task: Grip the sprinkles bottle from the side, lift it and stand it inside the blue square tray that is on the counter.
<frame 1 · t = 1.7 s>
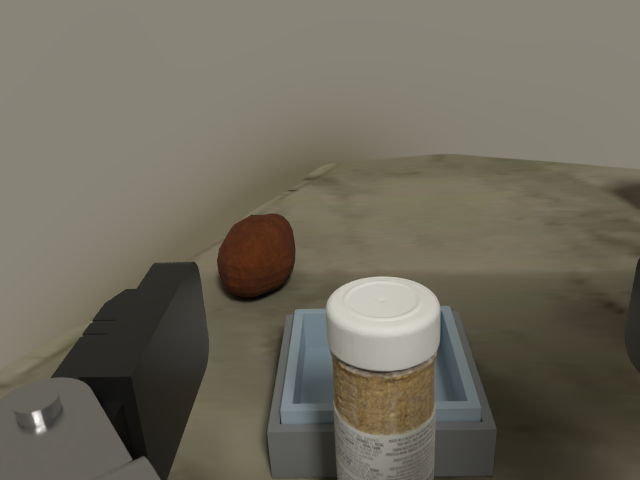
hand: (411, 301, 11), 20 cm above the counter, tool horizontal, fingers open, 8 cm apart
potato: (261, 289, 54), on the counter
blue square tray: (376, 404, 39), on the counter
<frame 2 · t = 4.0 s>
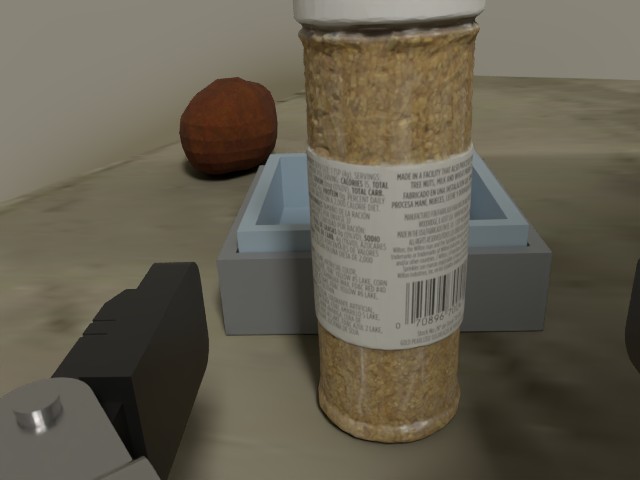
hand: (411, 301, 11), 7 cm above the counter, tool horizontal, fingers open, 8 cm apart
potato: (235, 172, 44), on the counter
sprinkles bottle: (387, 406, 20), on the counter
blue square tray: (375, 263, 29), on the counter
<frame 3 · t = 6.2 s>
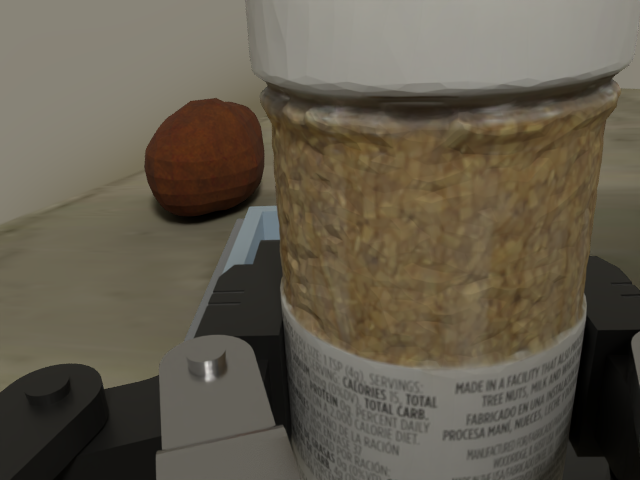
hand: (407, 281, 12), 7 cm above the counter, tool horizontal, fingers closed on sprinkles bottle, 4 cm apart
potato: (214, 211, 37), on the counter
blue square tray: (387, 361, 21), on the counter
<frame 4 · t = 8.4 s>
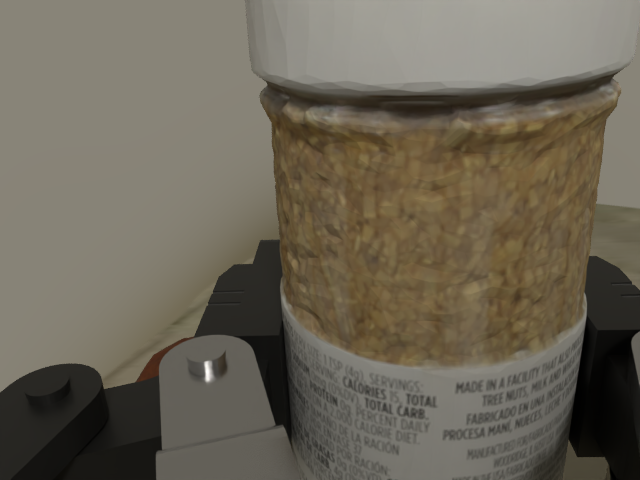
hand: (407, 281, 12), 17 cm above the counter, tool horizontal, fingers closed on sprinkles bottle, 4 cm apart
potato: (200, 460, 32), on the counter
when the fingers open (10 cm above the counter, at t = 10.5 s): sprinkles bottle drops 1 cm, resting on blue square tray.
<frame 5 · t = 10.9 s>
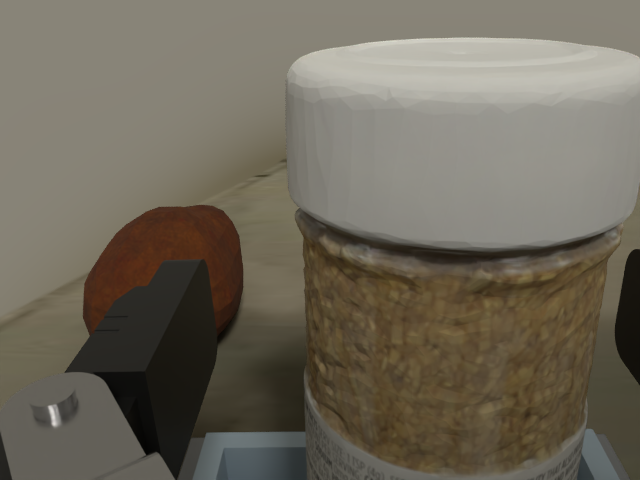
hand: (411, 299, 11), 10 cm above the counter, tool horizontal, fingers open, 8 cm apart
potato: (179, 346, 29), on the counter
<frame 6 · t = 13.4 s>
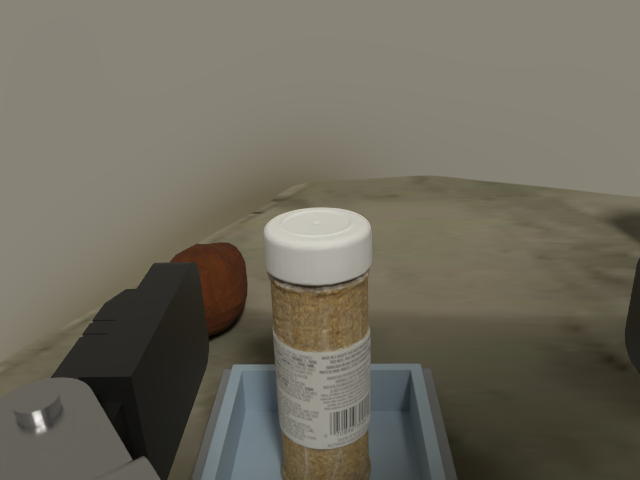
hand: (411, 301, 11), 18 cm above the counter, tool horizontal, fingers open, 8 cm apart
potato: (206, 330, 46), on the counter
sprinkles bottle: (325, 476, 31), point 1 cm above the counter, touching blue square tray
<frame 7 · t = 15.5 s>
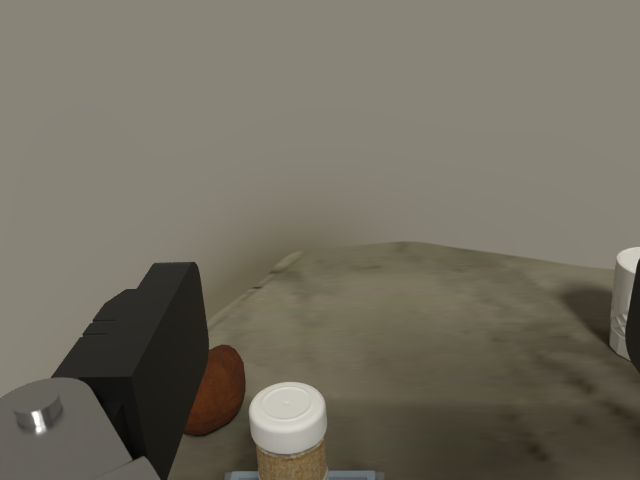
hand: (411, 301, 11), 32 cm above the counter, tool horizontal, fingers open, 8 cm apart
potato: (212, 419, 57), on the counter
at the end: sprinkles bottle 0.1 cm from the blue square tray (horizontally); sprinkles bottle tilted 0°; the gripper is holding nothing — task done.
